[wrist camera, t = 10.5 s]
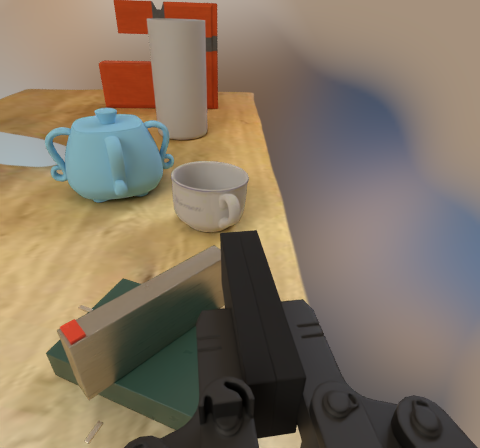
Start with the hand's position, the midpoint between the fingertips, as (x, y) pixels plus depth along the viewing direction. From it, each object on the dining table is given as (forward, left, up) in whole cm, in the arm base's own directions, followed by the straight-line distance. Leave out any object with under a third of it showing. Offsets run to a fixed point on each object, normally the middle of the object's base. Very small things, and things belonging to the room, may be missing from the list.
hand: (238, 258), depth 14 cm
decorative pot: (+47, -4, -19) cm, 51 cm away
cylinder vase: (+71, -26, -19) cm, 78 cm away
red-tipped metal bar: (+10, +1, -15) cm, 19 cm away
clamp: (+101, -31, -19) cm, 107 cm away
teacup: (+28, -13, -19) cm, 36 cm away
